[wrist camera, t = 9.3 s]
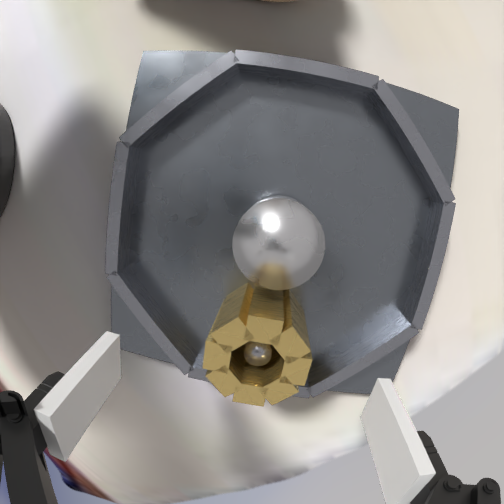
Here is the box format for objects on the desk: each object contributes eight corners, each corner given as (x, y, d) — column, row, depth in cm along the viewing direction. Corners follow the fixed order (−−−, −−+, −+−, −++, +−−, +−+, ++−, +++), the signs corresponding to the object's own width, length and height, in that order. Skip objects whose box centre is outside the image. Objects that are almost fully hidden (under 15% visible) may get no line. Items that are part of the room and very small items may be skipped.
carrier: (119, 338, 26) (84, 376, 20) (150, 57, 21) (113, 25, 14) (382, 385, 25) (402, 432, 19) (450, 112, 20) (495, 97, 13)
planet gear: (226, 275, 22) (209, 307, 17) (311, 290, 22) (321, 327, 16) (216, 348, 24) (199, 394, 18) (293, 361, 24) (296, 411, 18)
